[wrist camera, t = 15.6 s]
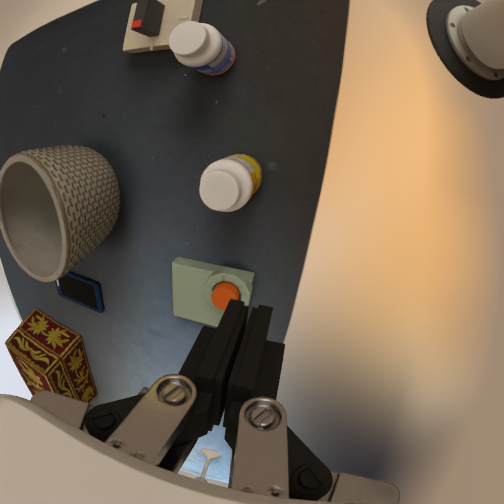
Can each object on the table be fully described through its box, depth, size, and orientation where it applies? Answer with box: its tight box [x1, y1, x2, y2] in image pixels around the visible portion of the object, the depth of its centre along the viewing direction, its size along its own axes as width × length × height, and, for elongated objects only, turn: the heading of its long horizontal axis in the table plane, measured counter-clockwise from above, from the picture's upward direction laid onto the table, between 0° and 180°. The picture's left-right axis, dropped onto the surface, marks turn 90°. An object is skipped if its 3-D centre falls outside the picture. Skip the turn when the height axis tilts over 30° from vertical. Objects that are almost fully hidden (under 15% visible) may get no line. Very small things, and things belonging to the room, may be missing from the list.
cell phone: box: [55, 272, 104, 313], centre depth 51 cm, size 7×14×1 cm, turn 81°
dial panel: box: [123, 0, 203, 53], centre depth 27 cm, size 10×9×3 cm
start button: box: [211, 282, 240, 310], centre depth 39 cm, size 4×4×2 cm
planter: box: [0, 145, 120, 283], centre depth 33 cm, size 17×17×16 cm
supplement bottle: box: [199, 154, 262, 212], centre depth 31 cm, size 6×6×10 cm
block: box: [172, 256, 255, 327], centre depth 42 cm, size 12×11×4 cm
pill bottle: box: [169, 21, 235, 75], centre depth 25 cm, size 5×5×10 cm
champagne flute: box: [195, 449, 221, 483], centre depth 61 cm, size 7×7×24 cm
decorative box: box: [5, 308, 97, 404], centre depth 58 cm, size 28×19×15 cm
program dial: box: [131, 0, 165, 37], centre depth 24 cm, size 5×2×5 cm, turn 173°
